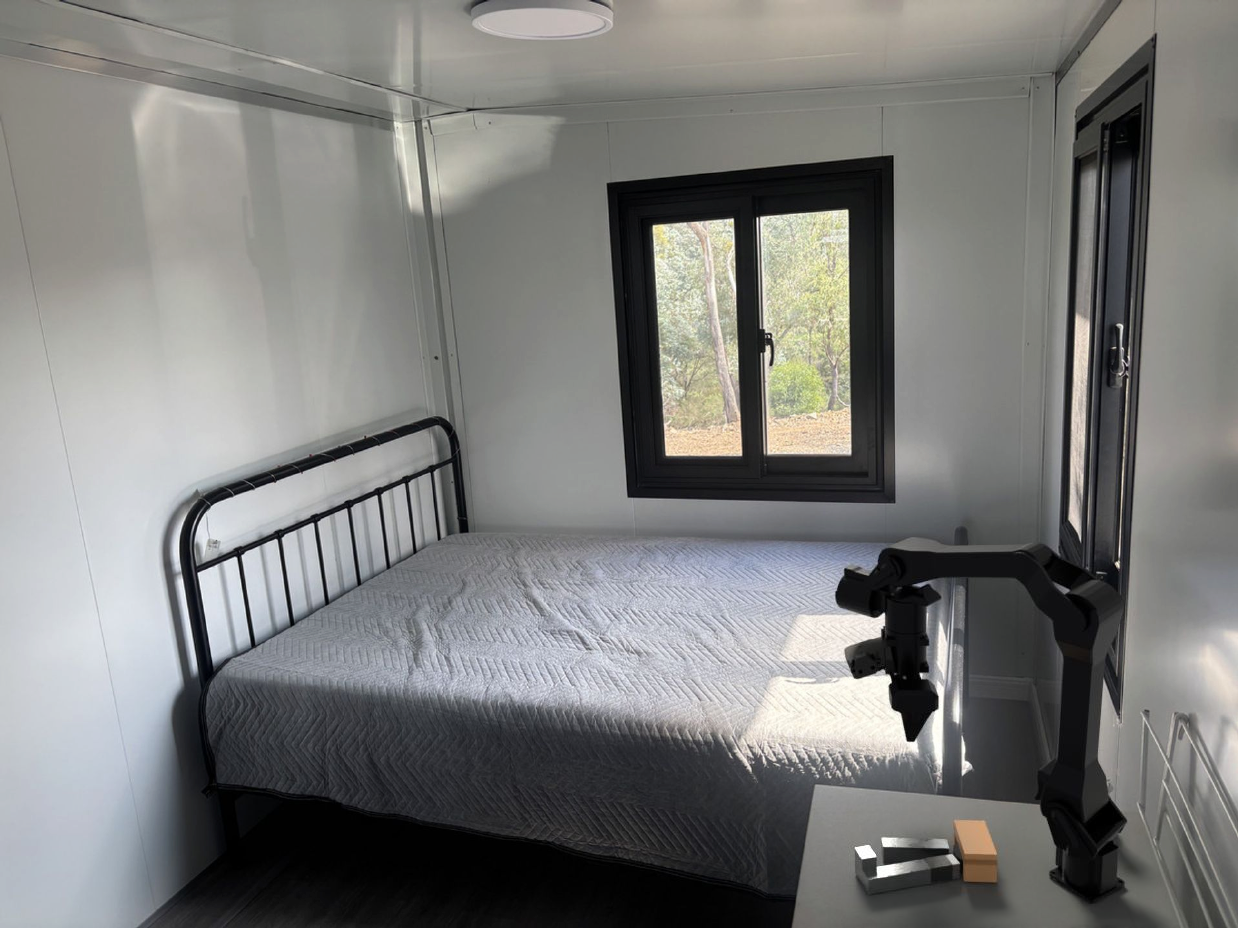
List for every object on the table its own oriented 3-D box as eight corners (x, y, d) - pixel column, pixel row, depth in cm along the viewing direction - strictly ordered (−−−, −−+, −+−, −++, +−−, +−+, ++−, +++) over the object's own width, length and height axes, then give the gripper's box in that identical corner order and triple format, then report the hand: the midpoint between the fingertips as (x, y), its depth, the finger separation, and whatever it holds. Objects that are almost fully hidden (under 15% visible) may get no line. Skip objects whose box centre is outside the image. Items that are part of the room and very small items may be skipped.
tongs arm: (943, 857, 129) (943, 832, 128) (959, 878, 124) (960, 852, 124) (855, 872, 127) (854, 847, 126) (868, 894, 123) (868, 868, 122)
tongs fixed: (980, 855, 129) (981, 839, 128) (988, 875, 125) (988, 859, 124) (881, 852, 131) (881, 837, 130) (885, 872, 127) (885, 856, 126)
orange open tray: (984, 846, 130) (984, 820, 129) (996, 882, 123) (997, 854, 122) (953, 846, 131) (953, 819, 130) (964, 881, 124) (964, 853, 123)
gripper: (842, 601, 146) (844, 694, 150) (853, 654, 128) (855, 758, 132) (917, 600, 145) (917, 694, 148) (939, 654, 127) (939, 759, 130)
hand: (905, 724), depth 140 cm, fingers open, 9 cm apart
